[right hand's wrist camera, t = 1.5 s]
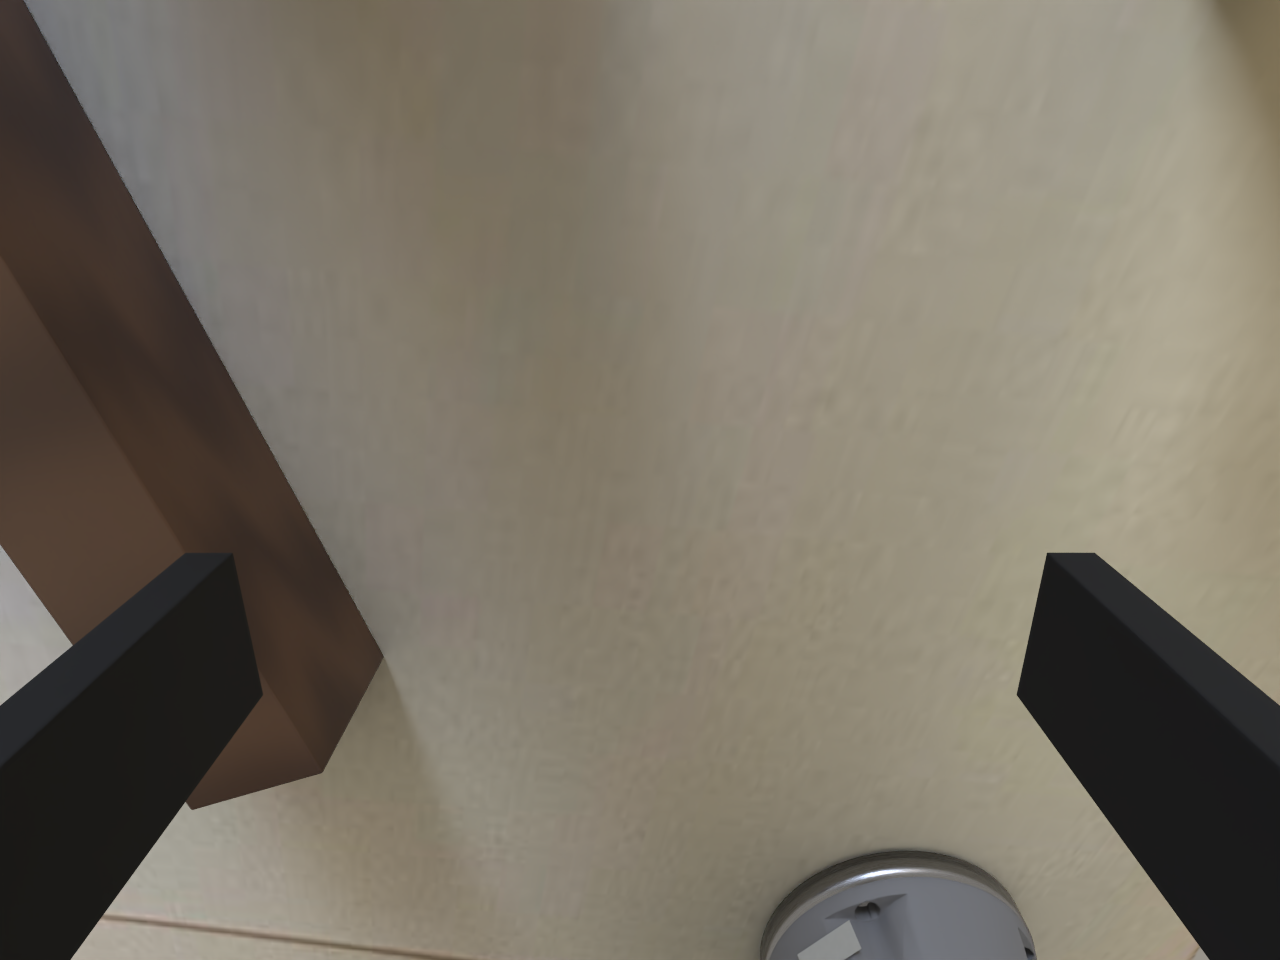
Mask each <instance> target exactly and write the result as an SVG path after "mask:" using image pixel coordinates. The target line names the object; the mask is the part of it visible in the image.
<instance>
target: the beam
mask: <svg viewBox="0 0 1280 960" xmlns="http://www.w3.org/2000/svg"><path fill="white" fill-rule="evenodd" d="M0 545H1V546H2V547H3V549H4V550H5V552H6V553H7V554H8V556H9V557H10V559H11V560H12V561H13V563H14V564H15V565H16V567H17V568H18V570H19V571H20V572H21V574H22V575H23V577H24V578H25V579H26V581H27V582H28V584H29V585H30V586H31V588H32V589H33V590H34V592H35V593H36V595H37V596H38V597H39V599H40V600H41V602H42V603H43V604H44V606H45V607H46V609H47V610H48V611H49V613H50V614H51V615H52V617H53V618H54V620H55V621H56V622H57V624H58V625H59V627H60V628H61V629H62V631H63V632H64V634H65V635H66V636H67V638H68V639H69V640H70V642H71V643H72V645H74V644H76V643H77V642H78V641H79V640H80V639H82V638H83V637H84V636H85V635H87V634H88V633H89V632H90V631H91V630H93V629H94V628H95V627H96V626H97V625H99V624H100V623H101V622H102V621H103V620H105V619H106V618H107V617H108V616H110V615H111V614H112V613H113V612H114V611H116V610H117V609H118V608H119V607H120V606H122V605H123V604H124V603H125V602H126V601H128V600H129V599H130V598H131V597H133V596H134V595H135V594H136V593H137V592H139V591H140V590H141V589H142V588H143V587H145V586H146V585H147V584H148V583H149V582H151V581H152V580H153V579H154V578H156V577H157V576H158V575H159V574H160V573H162V572H163V571H164V570H165V569H166V568H168V567H169V566H170V565H171V564H172V563H174V562H175V561H176V560H177V559H179V558H180V557H181V556H182V555H183V554H185V553H233V556H234V561H235V565H236V570H237V575H238V579H239V584H240V589H241V593H242V598H243V603H244V607H245V612H246V617H247V621H248V626H249V631H250V635H251V640H252V645H253V649H254V654H255V659H256V663H257V668H258V673H259V677H260V682H261V687H262V691H263V696H262V697H261V699H260V700H259V701H258V703H257V704H256V705H255V707H254V708H253V710H252V711H251V712H250V714H249V715H248V716H247V718H246V719H245V721H244V722H243V723H242V725H241V726H240V727H239V729H238V730H237V732H236V733H235V734H234V736H233V737H232V738H231V740H230V741H229V743H228V744H227V745H226V747H225V748H224V749H223V751H222V752H221V754H220V755H219V756H218V758H217V759H216V760H215V762H214V763H213V765H212V766H211V767H210V769H209V770H208V771H207V773H206V774H205V775H204V777H203V778H202V780H201V781H200V782H199V784H198V785H197V786H196V788H195V789H194V791H193V792H192V793H191V795H190V796H189V797H188V799H187V800H186V803H187V804H188V806H189V807H190V809H192V810H194V809H197V808H201V807H204V806H208V805H211V804H215V803H218V802H222V801H225V800H229V799H232V798H236V797H239V796H243V795H246V794H250V793H253V792H257V791H260V790H264V789H267V788H271V787H274V786H278V785H281V784H285V783H288V782H292V781H295V780H299V779H302V778H306V777H309V776H313V775H317V774H320V773H322V772H323V771H324V769H325V767H326V765H327V763H328V761H329V759H330V757H331V756H332V754H333V752H334V750H335V748H336V746H337V744H338V742H339V740H340V739H341V737H342V735H343V733H344V731H345V729H346V727H347V725H348V723H349V722H350V720H351V718H352V716H353V714H354V712H355V710H356V708H357V706H358V705H359V703H360V701H361V699H362V697H363V695H364V693H365V691H366V689H367V688H368V686H369V684H370V682H371V680H372V678H373V676H374V674H375V672H376V671H377V669H378V667H379V665H380V663H381V661H382V659H383V655H382V653H381V651H380V649H379V648H378V646H377V644H376V642H375V640H374V639H373V637H372V635H371V633H370V631H369V629H368V628H367V626H366V624H365V622H364V620H363V618H362V617H361V615H360V613H359V611H358V609H357V608H356V606H355V604H354V602H353V600H352V598H351V597H350V595H349V593H348V591H347V589H346V588H345V586H344V584H343V582H342V580H341V578H340V577H339V575H338V573H337V571H336V569H335V568H334V566H333V564H332V562H331V560H330V558H329V557H328V555H327V553H326V551H325V549H324V547H323V546H322V544H321V542H320V540H319V538H318V537H317V535H316V533H315V531H314V529H313V527H312V526H311V524H310V522H309V520H308V518H307V517H306V515H305V513H304V511H303V509H302V507H301V506H300V504H299V502H298V500H297V498H296V497H295V495H294V493H293V491H292V489H291V487H290V486H289V484H288V482H287V480H286V478H285V476H284V475H283V473H282V471H281V469H280V467H279V466H278V464H277V462H276V460H275V458H274V456H273V455H272V453H271V451H270V449H269V447H268V446H267V444H266V442H265V440H264V438H263V436H262V435H261V433H260V431H259V429H258V427H257V426H256V424H255V422H254V420H253V418H252V416H251V415H250V413H249V411H248V409H247V407H246V405H245V404H244V402H243V400H242V398H241V396H240V395H239V393H238V391H237V389H236V387H235V385H234V384H233V382H232V380H231V378H230V376H229V375H228V373H227V371H226V369H225V367H224V365H223V364H222V362H221V360H220V358H219V356H218V355H217V353H216V351H215V349H214V347H213V345H212V344H211V342H210V340H209V338H208V336H207V334H206V333H205V331H204V329H203V327H202V325H201V324H200V322H199V320H198V318H197V316H196V314H195V313H194V311H193V309H192V307H191V305H190V304H189V302H188V300H187V298H186V296H185V294H184V293H183V291H182V289H181V287H180V285H179V284H178V282H177V280H176V278H175V276H174V274H173V273H172V271H171V269H170V267H169V265H168V263H167V262H166V260H165V258H164V256H163V254H162V253H161V251H160V249H159V247H158V245H157V243H156V242H155V240H154V238H153V236H152V234H151V233H150V231H149V229H148V227H147V225H146V223H145V222H144V220H143V218H142V216H141V214H140V213H139V211H138V209H137V207H136V205H135V203H134V202H133V200H132V198H131V196H130V194H129V192H128V191H127V189H126V187H125V185H124V183H123V182H122V180H121V178H120V176H119V174H118V172H117V171H116V169H115V167H114V165H113V163H112V162H111V160H110V158H109V156H108V154H107V152H106V151H105V149H104V147H103V145H102V143H101V142H100V140H99V138H98V136H97V134H96V132H95V131H94V129H93V127H92V125H91V123H90V121H89V120H88V118H87V116H86V114H85V112H84V111H83V109H82V107H81V105H80V103H79V101H78V100H77V98H76V96H75V94H74V92H73V91H72V89H71V87H70V85H69V83H68V81H67V80H66V78H65V76H64V74H63V72H62V71H61V69H60V67H59V65H58V63H57V61H56V60H55V58H54V56H53V54H52V52H51V50H50V49H49V47H48V45H47V43H46V41H45V40H44V38H43V36H42V34H41V32H40V30H39V29H38V27H37V25H36V23H35V21H34V20H33V18H32V16H31V14H30V12H29V10H28V9H27V7H26V5H25V3H24V1H23V0H0Z"/></svg>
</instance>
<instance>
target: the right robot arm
mask: <svg viewBox="0 0 1280 960" xmlns="http://www.w3.org/2000/svg"><path fill="white" fill-rule="evenodd" d="M262 696H263V691H262V687H261V682H260V677H259V673H258V668H257V663H256V659H255V654H254V649H253V645H252V640H251V635H250V631H249V626H248V621H247V617H246V612H245V607H244V603H243V598H242V593H241V589H240V584H239V579H238V575H237V570H236V565H235V561H234V556H233V553H185V554H183V555H182V556H181V557H180V558H179V559H177V560H176V561H175V562H174V563H172V564H171V565H170V566H169V567H168V568H166V569H165V570H164V571H163V572H162V573H160V574H159V575H158V576H157V577H156V578H154V579H153V580H152V581H151V582H149V583H148V584H147V585H146V586H145V587H143V588H142V589H141V590H140V591H139V592H137V593H136V594H135V595H134V596H133V597H131V598H130V599H129V600H128V601H126V602H125V603H124V604H123V605H122V606H120V607H119V608H118V609H117V610H116V611H114V612H113V613H112V614H111V615H110V616H108V617H107V618H106V619H105V620H103V621H102V622H101V623H100V624H99V625H97V626H96V627H95V628H94V629H93V630H91V631H90V632H89V633H88V634H87V635H85V636H84V637H83V638H82V639H80V640H79V641H78V642H77V643H76V644H74V645H73V646H72V647H71V648H70V649H68V650H67V651H66V652H65V653H64V654H62V655H61V656H60V657H59V658H57V659H56V660H55V661H54V662H53V663H51V664H50V665H49V666H48V667H47V668H45V669H44V670H43V671H42V672H40V673H39V674H38V675H37V676H36V677H34V678H33V679H32V680H31V681H30V682H28V683H27V684H26V685H25V686H24V687H22V688H21V689H20V690H19V691H17V692H16V693H15V694H14V695H13V696H11V697H10V698H9V699H8V700H7V701H5V702H4V703H3V704H2V705H1V706H0V960H71V958H72V957H73V955H74V954H75V953H76V951H77V950H78V949H79V947H80V946H81V944H82V943H83V942H84V940H85V939H86V938H87V936H88V935H89V933H90V932H91V931H92V929H93V928H94V927H95V925H96V924H97V922H98V921H99V920H100V918H101V917H102V916H103V914H104V913H105V911H106V910H107V909H108V907H109V906H110V905H111V903H112V902H113V900H114V899H115V898H116V896H117V895H118V894H119V892H120V891H121V890H122V888H123V887H124V885H125V884H126V883H127V881H128V880H129V879H130V877H131V876H132V874H133V873H134V872H135V870H136V869H137V868H138V866H139V865H140V863H141V862H142V861H143V859H144V858H145V857H146V855H147V854H148V852H149V851H150V850H151V848H152V847H153V846H154V844H155V843H156V841H157V840H158V839H159V837H160V836H161V835H162V833H163V832H164V830H165V829H166V828H167V826H168V825H169V824H170V822H171V821H172V819H173V818H174V817H175V815H176V814H177V813H178V811H179V810H180V808H181V807H182V806H183V804H184V803H185V802H186V800H187V799H188V797H189V796H190V795H191V793H192V792H193V791H194V789H195V788H196V786H197V785H198V784H199V782H200V781H201V780H202V778H203V777H204V775H205V774H206V773H207V771H208V770H209V769H210V767H211V766H212V765H213V763H214V762H215V760H216V759H217V758H218V756H219V755H220V754H221V752H222V751H223V749H224V748H225V747H226V745H227V744H228V743H229V741H230V740H231V738H232V737H233V736H234V734H235V733H236V732H237V730H238V729H239V727H240V726H241V725H242V723H243V722H244V721H245V719H246V718H247V716H248V715H249V714H250V712H251V711H252V710H253V708H254V707H255V705H256V704H257V703H258V701H259V700H260V699H261V697H262ZM1017 696H1018V697H1019V699H1020V700H1021V701H1022V703H1023V704H1024V705H1025V707H1026V708H1027V710H1028V711H1029V712H1030V714H1031V715H1032V716H1033V718H1034V719H1035V721H1036V722H1037V723H1038V725H1039V726H1040V727H1041V729H1042V730H1043V732H1044V733H1045V734H1046V736H1047V737H1048V738H1049V740H1050V741H1051V743H1052V744H1053V745H1054V747H1055V748H1056V749H1057V751H1058V752H1059V754H1060V755H1061V756H1062V758H1063V759H1064V760H1065V762H1066V763H1067V765H1068V766H1069V767H1070V769H1071V770H1072V771H1073V773H1074V774H1075V776H1076V777H1077V778H1078V780H1079V781H1080V782H1081V784H1082V785H1083V786H1084V788H1085V789H1086V791H1087V792H1088V793H1089V795H1090V796H1091V797H1092V799H1093V800H1094V802H1095V803H1096V804H1097V806H1098V807H1099V808H1100V810H1101V811H1102V813H1103V814H1104V815H1105V817H1106V818H1107V819H1108V821H1109V822H1110V824H1111V825H1112V826H1113V828H1114V829H1115V830H1116V832H1117V833H1118V835H1119V836H1120V837H1121V839H1122V840H1123V841H1124V843H1125V844H1126V846H1127V847H1128V848H1129V850H1130V851H1131V852H1132V854H1133V855H1134V857H1135V858H1136V859H1137V861H1138V862H1139V863H1140V865H1141V866H1142V868H1143V869H1144V870H1145V872H1146V873H1147V874H1148V876H1149V877H1150V879H1151V880H1152V881H1153V883H1154V884H1155V885H1156V887H1157V888H1158V890H1159V891H1160V892H1161V894H1162V895H1163V896H1164V898H1165V899H1166V900H1167V902H1168V903H1169V905H1170V906H1171V907H1172V909H1173V910H1174V911H1175V913H1176V914H1177V916H1178V917H1179V918H1180V920H1181V921H1182V922H1183V924H1184V925H1185V927H1186V928H1187V929H1188V931H1189V932H1190V933H1191V935H1192V936H1193V938H1194V939H1195V940H1196V942H1197V943H1198V944H1199V946H1200V947H1201V949H1202V950H1203V951H1204V953H1205V954H1206V955H1207V957H1208V958H1209V960H1280V706H1279V705H1278V704H1277V703H1276V702H1275V701H1273V700H1272V699H1271V698H1270V697H1269V696H1267V695H1266V694H1265V693H1264V692H1263V691H1261V690H1260V689H1259V688H1258V687H1256V686H1255V685H1254V684H1253V683H1252V682H1250V681H1249V680H1248V679H1247V678H1246V677H1244V676H1243V675H1242V674H1241V673H1239V672H1238V671H1237V670H1236V669H1235V668H1233V667H1232V666H1231V665H1230V664H1229V663H1227V662H1226V661H1225V660H1224V659H1223V658H1221V657H1220V656H1219V655H1218V654H1216V653H1215V652H1214V651H1213V650H1212V649H1210V648H1209V647H1208V646H1207V645H1206V644H1204V643H1203V642H1202V641H1201V640H1200V639H1198V638H1197V637H1196V636H1195V635H1193V634H1192V633H1191V632H1190V631H1189V630H1187V629H1186V628H1185V627H1184V626H1183V625H1181V624H1180V623H1179V622H1178V621H1177V620H1175V619H1174V618H1173V617H1172V616H1170V615H1169V614H1168V613H1167V612H1166V611H1164V610H1163V609H1162V608H1161V607H1160V606H1158V605H1157V604H1156V603H1155V602H1154V601H1152V600H1151V599H1150V598H1149V597H1147V596H1146V595H1145V594H1144V593H1143V592H1141V591H1140V590H1139V589H1138V588H1137V587H1135V586H1134V585H1133V584H1132V583H1131V582H1129V581H1128V580H1127V579H1126V578H1124V577H1123V576H1122V575H1121V574H1120V573H1118V572H1117V571H1116V570H1115V569H1114V568H1112V567H1111V566H1110V565H1109V564H1108V563H1106V562H1105V561H1104V560H1103V559H1101V558H1100V557H1099V556H1098V555H1097V554H1095V553H1047V556H1046V561H1045V565H1044V570H1043V575H1042V579H1041V584H1040V589H1039V593H1038V598H1037V603H1036V607H1035V612H1034V617H1033V621H1032V626H1031V631H1030V635H1029V640H1028V645H1027V649H1026V654H1025V659H1024V663H1023V668H1022V673H1021V677H1020V682H1019V687H1018V691H1017ZM761 960H1037V958H1036V953H1035V949H1034V943H1033V940H1032V936H1031V934H1030V932H1029V930H1028V927H1027V925H1026V923H1025V922H1024V920H1023V918H1022V916H1021V914H1020V912H1019V910H1018V908H1017V906H1016V904H1015V902H1014V900H1013V899H1012V897H1011V896H1010V894H1009V893H1008V892H1007V890H1006V889H1005V888H1004V887H1003V886H1002V885H1001V884H1000V883H999V882H998V881H997V880H996V879H995V878H993V877H992V876H991V875H989V874H988V873H987V872H985V871H983V870H981V869H980V868H978V867H976V866H974V865H972V864H970V863H968V862H965V861H962V860H959V859H957V858H953V857H949V856H946V855H941V854H935V853H929V852H919V851H896V852H885V853H877V854H872V855H867V856H862V857H858V858H855V859H851V860H848V861H845V862H842V863H840V864H837V865H835V866H832V867H830V868H828V869H826V870H824V871H822V872H820V873H818V874H816V875H815V876H813V877H811V878H810V879H808V880H807V881H805V882H804V883H802V884H801V885H800V886H799V887H797V888H796V889H795V890H794V891H792V892H791V893H790V894H789V895H788V896H787V897H786V898H785V899H784V900H783V902H782V903H781V904H780V905H779V906H778V908H777V909H776V910H775V912H774V913H773V915H772V916H771V918H770V920H769V922H768V924H767V926H766V929H765V931H764V934H763V938H762V943H761Z"/></svg>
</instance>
